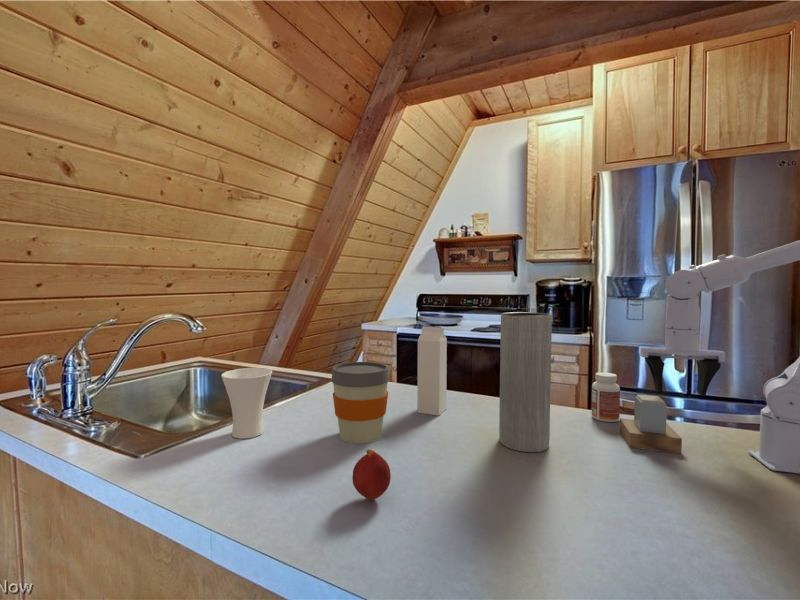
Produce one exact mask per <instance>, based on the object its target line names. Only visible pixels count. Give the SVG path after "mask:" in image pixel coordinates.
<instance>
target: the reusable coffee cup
mask: <svg viewBox="0 0 800 600" xmlns="http://www.w3.org/2000/svg"><path fill="white" fill-rule="evenodd" d="M331 372H332V373H331V384H332V385H333V393H332V398H333V399H332V400H333V407H334V408H333V409H334V414H335V417H337V422H338V423H337V424H338V430H339V431H338V432H339V436H340V439H341V440H342V441H344V442H346V443H350V444H368V443H373V442H375V441H377V440H379V439H380V438H381V437H382V431H383V424H384V416H385V415H386V414H387V406H388V399H389V398H388V397H389V391H388V383H389V382H390V374H389V366H388V365H387V364H385V363H381V362H374V361H352V362H351V361H350V362H344V363H343V362H342V363H339V364H335V365H334V366H332V371H331Z"/></svg>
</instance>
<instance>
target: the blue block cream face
mask: <svg viewBox="0 0 800 600" xmlns="http://www.w3.org/2000/svg"><path fill="white" fill-rule="evenodd" d="M667 406H668V405H667V403H665V401H664V400H663V398H661V397H660V396H659V395H648V394H647V395H646V394H636V396H634V412H633V413H634V414H633V415H634V416H633V420H634V424H635V426H636V427H637V428H638V429H639V431H643V432H652V433H662V434H666V423H667V409H668V407H667Z"/></svg>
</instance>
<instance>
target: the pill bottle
mask: <svg viewBox="0 0 800 600" xmlns="http://www.w3.org/2000/svg"><path fill="white" fill-rule="evenodd" d="M594 379H595V381H594V382H592V385H591V417H592V418H593V419H594V420H597V421H600V422H604V423H605V422H606V423H615V422H618V421H620V415H621V414H620V413H621V411H620V409H621V407H620V406H621V405H620V404H621V388H620V385H619V384H618V383H616V382H617V380H618V375H617V374H616V373H612V372H611V373H610V372H603V371H602V372H601V371H600V372H595V377H594Z"/></svg>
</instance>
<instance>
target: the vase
mask: <svg viewBox="0 0 800 600" xmlns="http://www.w3.org/2000/svg"><path fill="white" fill-rule="evenodd" d="M500 314H501V315H500V344H499V345H500V349H499V350H500V357H499V362H500V363H499V413H498V414H499V415H498V416H499V417H498V418H499V427H498V429H499V430H498V435H499V437H498V438H499V439H498V440H499V442H500V444H502V445H503V446H504V447H506V448H508V449H510V450H514V451H517V452H523V453H540V452H543V451H546V450H547V449H549V448H550V436H551V435H550V431H551V429H550V427H551V385H552V383H551V382H552V381H551V380H552V378H551V377H552V375H551V373H552V338H553V337H552V334H553V332H552V330H553V329H552V326H553V317H552V314H550V313H542V312H527V311H525V312H523V311H516V312H515V311H513V312H509V311H508V312H503V313H500Z"/></svg>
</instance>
